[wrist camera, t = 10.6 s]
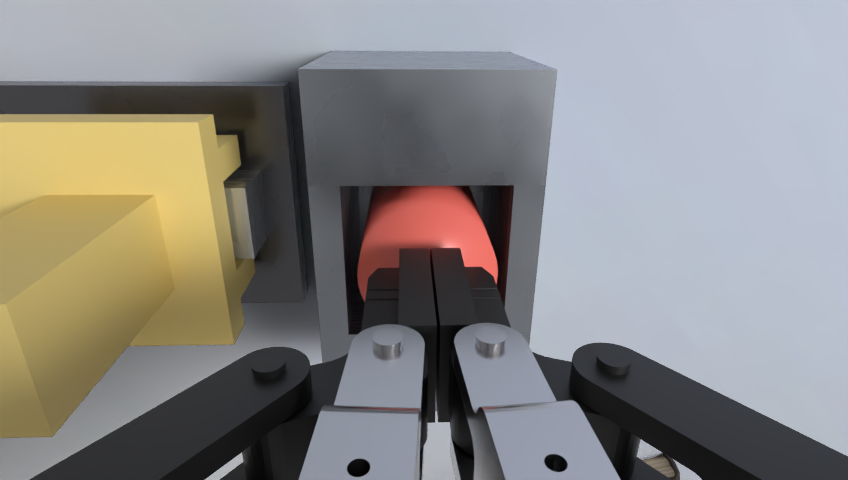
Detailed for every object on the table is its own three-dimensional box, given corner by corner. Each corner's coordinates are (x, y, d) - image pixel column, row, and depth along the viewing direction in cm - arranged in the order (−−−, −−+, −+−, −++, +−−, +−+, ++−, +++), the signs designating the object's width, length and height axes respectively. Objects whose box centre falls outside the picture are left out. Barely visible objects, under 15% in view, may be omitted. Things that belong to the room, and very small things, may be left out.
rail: (-296, 80, 17) (-429, 93, 14) (288, 82, 18) (267, 94, 15) (-186, 294, 20) (-278, 338, 18) (307, 289, 21) (293, 331, 18)
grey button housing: (331, 51, 18) (297, 68, 12) (509, 52, 18) (557, 69, 12) (346, 310, 22) (327, 412, 16) (492, 308, 22) (522, 408, 16)
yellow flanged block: (40, 103, 17) (-331, 196, 8) (232, 103, 17) (63, 194, 8) (93, 297, 19) (-142, 514, 11) (258, 296, 20) (150, 507, 11)
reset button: (367, 158, 17) (354, 210, 13) (476, 157, 17) (502, 209, 13) (370, 257, 19) (360, 336, 14) (472, 256, 19) (493, 334, 14)
